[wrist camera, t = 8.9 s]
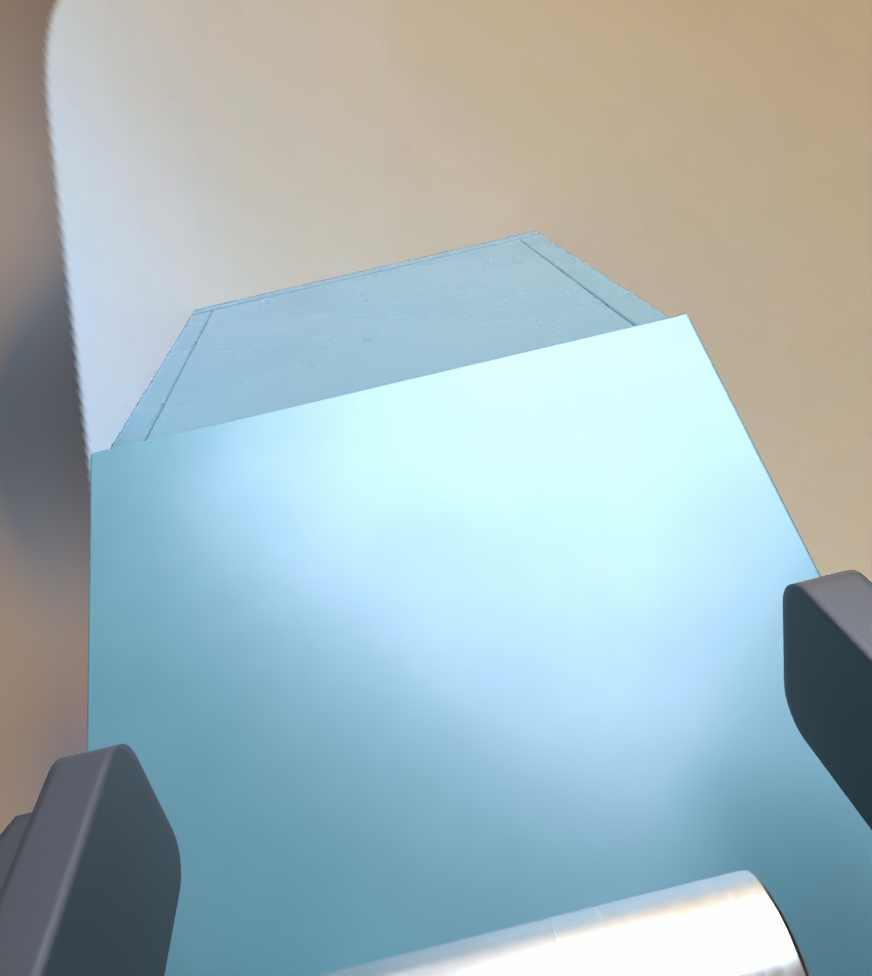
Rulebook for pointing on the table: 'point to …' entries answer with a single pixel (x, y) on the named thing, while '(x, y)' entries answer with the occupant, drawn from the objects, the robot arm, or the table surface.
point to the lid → (476, 679)
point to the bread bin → (378, 331)
